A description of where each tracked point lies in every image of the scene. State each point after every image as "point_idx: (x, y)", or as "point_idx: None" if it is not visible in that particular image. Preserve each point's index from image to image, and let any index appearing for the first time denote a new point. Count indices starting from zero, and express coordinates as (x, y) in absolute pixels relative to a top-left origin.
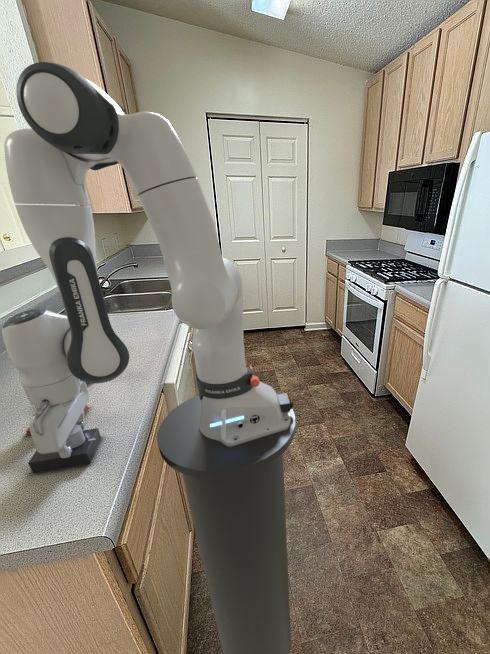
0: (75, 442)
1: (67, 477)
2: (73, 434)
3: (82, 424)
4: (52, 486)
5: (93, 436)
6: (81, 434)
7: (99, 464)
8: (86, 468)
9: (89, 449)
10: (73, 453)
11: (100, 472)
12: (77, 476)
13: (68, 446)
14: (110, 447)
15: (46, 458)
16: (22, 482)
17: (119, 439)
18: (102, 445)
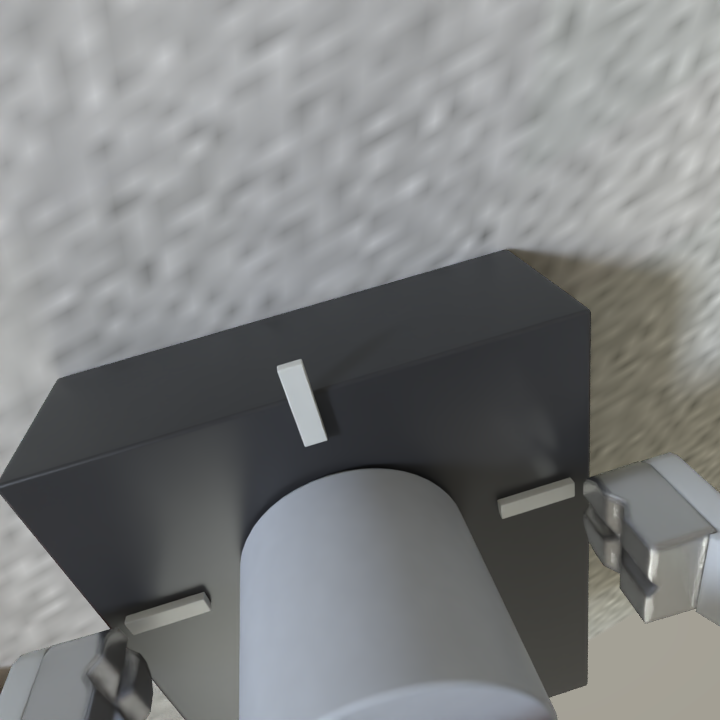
0: (468, 545)
1: (641, 352)
2: (523, 682)
3: (85, 715)
4: (705, 399)
5: (214, 429)
6: (381, 582)
7: (534, 133)
8: (567, 250)
9: (468, 329)
10: (551, 456)
11: (677, 41)
12: (656, 273)
13: (659, 563)
14: (222, 155)
15: (566, 619)
16: (598, 585)
17: (20, 102)
18: (193, 286)
